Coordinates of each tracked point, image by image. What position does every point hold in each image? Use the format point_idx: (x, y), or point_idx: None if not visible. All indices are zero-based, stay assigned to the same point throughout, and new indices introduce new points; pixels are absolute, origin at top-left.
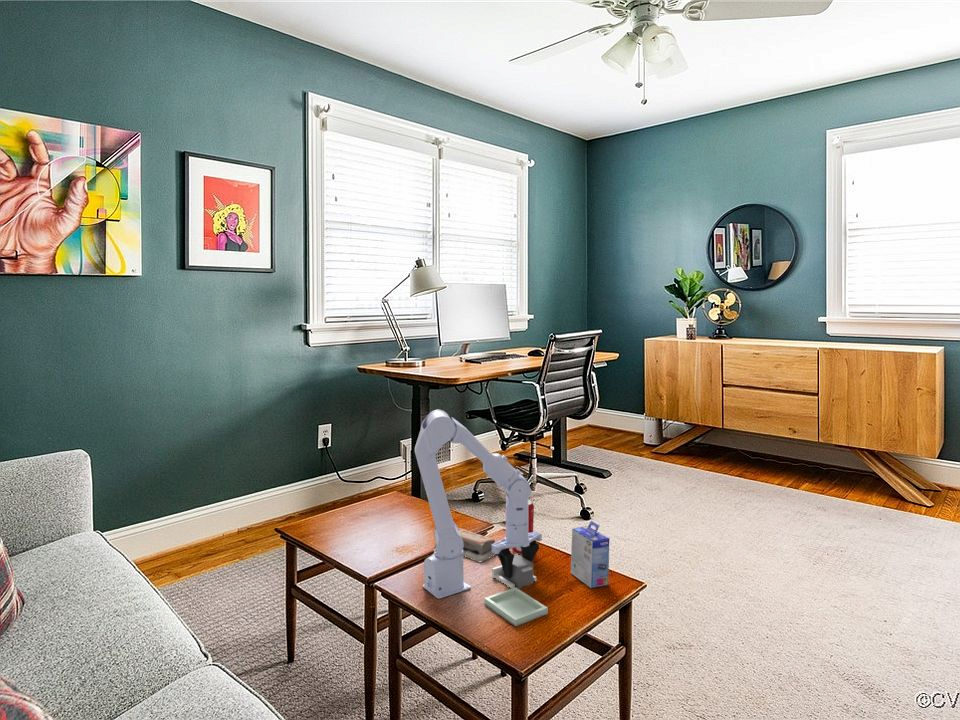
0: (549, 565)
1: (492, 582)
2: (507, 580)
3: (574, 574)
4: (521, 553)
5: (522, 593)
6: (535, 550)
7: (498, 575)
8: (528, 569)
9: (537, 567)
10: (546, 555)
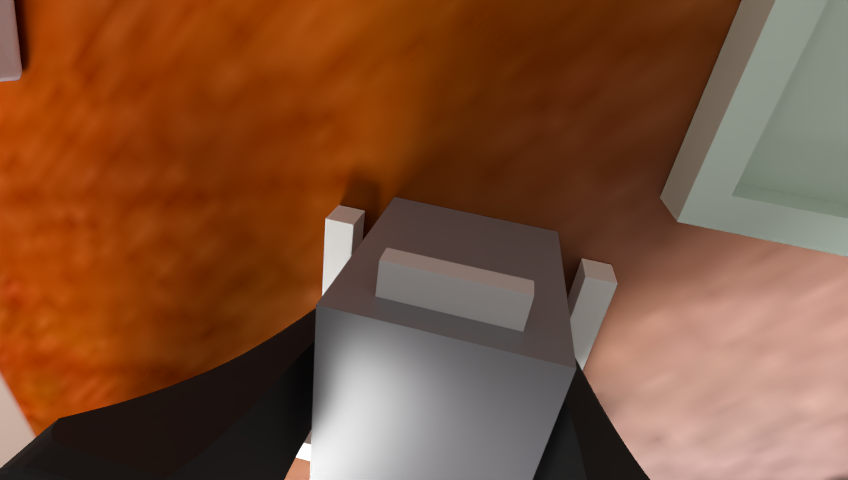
0: (110, 280)
1: None
2: None
3: (2, 8)
4: None
5: (785, 59)
6: (140, 430)
7: None
8: (447, 269)
9: (197, 322)
10: (60, 366)
